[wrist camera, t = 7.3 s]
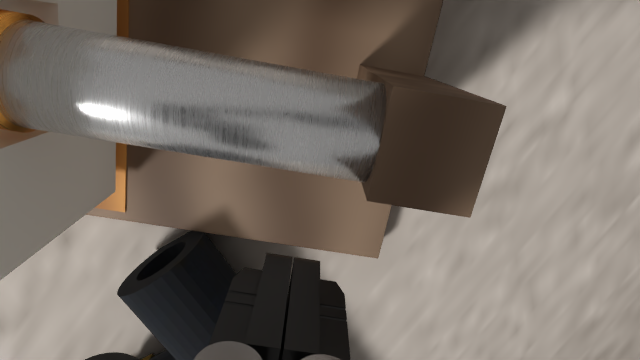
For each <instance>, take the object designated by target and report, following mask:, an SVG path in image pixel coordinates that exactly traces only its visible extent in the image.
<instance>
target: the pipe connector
mask: <svg viewBox="0 0 640 360" xmlns="http://www.w3.org/2000/svg"><path fill="white" fill-rule="evenodd" d="M234 276H236V273H235V272H234V271H233V269H232V268H231V267H230V266H229V264H228V263H227V262H226V260H225V259H224V258H223V256H222V255H221V254H220V252H219V251H218V250H217V249H216V247H215V246H214V245H213V243H212V242H211V241H210V239H209V238H208V237H207V235H206V234H205V233H204V232H199V231H190V232H189V233H187V234H185V235H183V236H182V237H180V238H178V239H176V240H175V241H173V242H171V243H169V244H167V245H166V246H164V247H162V248H160V249H159V250H158V251H156V252H155V253H153V254H152V255H151V256H150V257H148V258H147V259H146V260H145V261H144V262H142V263H141V264H140V265H139V266H138V267H137V268H136V269H135V270H134V271H133V272H132V273H131V274H130V275H129V276H128V277H127V278H126V279H125V280H124V282H123V283H122V284H121V286H120V287H119V289H118V293H117V295H118V296H119V297H120V298H121V299H122V300H123V301H124V302H125V303H126V305H127V306H128V307H129V308H130V309H131V310H132V311H133V312H134V313H135V315H136V316H137V317H138V318H139V319H140V320H141V321H142V322H143V324H144V325H145V326H146V327H147V328H148V329H149V330H150V331H151V332H152V334H153V335H154V336H155V337H156V338H157V339H158V340H159V341H160V343H161V344H162V345H163V346H164V347H165V348H166V349H167V350H166V351H164V352H162V353H160V354H158V355H156V356H155V355H154V354H153V353H152V354H150V355H148V356H146V357H144V358H143V359H141V360H194V359H195V357H196V355H197V354H198V353H199V352H200V351H201V350H203V349H204V348H206V347H207V346H208V345H209V343H210V340H211V337H212V335H213V332H214V329H215V326H216V323H217V321H218V318H219V315H220V312H221V310H222V307H223V304H224V302H225V299H226V296H227V293H228V291H229V288H230V285H231V282H232V279H233V277H234Z"/></svg>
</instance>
